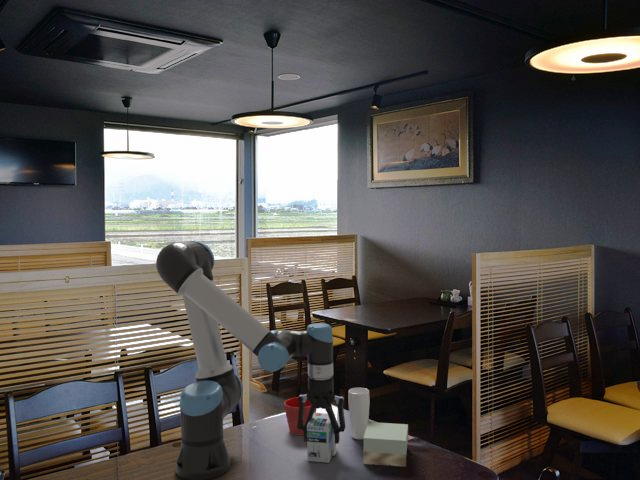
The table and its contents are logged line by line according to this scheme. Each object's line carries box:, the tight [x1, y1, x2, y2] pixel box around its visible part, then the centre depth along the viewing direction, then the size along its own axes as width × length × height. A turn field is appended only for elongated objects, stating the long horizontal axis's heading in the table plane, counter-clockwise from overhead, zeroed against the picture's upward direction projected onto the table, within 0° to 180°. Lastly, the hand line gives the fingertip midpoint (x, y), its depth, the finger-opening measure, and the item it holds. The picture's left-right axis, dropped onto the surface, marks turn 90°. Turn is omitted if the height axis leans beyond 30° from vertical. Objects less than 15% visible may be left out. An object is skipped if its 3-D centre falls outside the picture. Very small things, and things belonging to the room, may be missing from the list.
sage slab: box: [362, 421, 409, 456], centre depth 161 cm, size 12×12×4 cm
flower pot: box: [283, 396, 317, 436], centre depth 181 cm, size 11×11×10 cm
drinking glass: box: [347, 387, 370, 440], centre depth 175 cm, size 7×7×15 cm
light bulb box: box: [306, 412, 336, 464], centre depth 163 cm, size 11×7×11 cm, turn 169°
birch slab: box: [362, 449, 408, 468], centre depth 162 cm, size 12×12×4 cm
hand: (321, 452), depth 163 cm, fingers closed on light bulb box, 7 cm apart
